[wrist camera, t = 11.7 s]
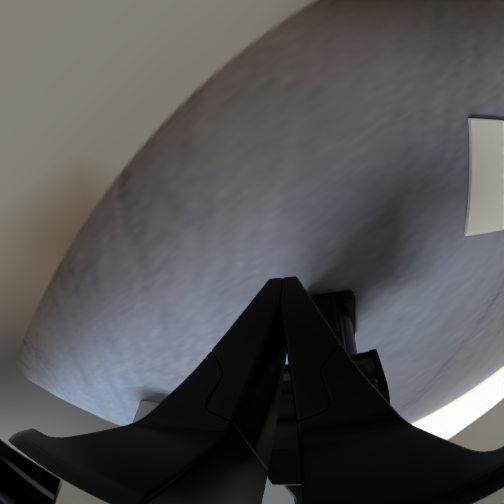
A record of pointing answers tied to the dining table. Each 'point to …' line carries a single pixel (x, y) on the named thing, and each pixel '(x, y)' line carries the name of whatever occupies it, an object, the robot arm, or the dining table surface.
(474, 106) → the dining table surface
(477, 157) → the felt mat
